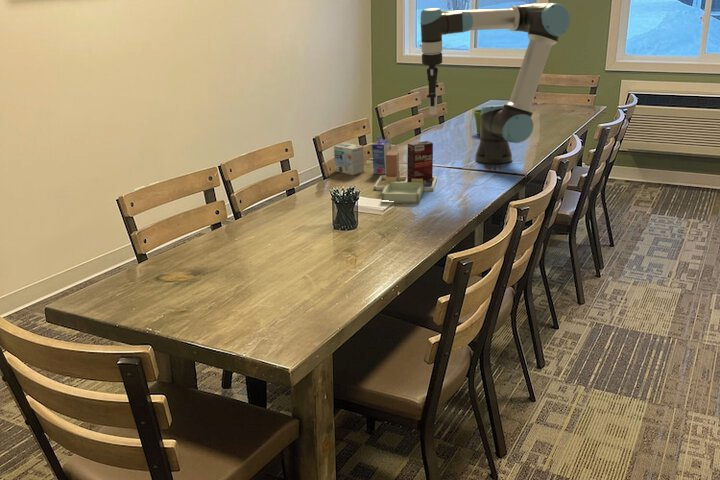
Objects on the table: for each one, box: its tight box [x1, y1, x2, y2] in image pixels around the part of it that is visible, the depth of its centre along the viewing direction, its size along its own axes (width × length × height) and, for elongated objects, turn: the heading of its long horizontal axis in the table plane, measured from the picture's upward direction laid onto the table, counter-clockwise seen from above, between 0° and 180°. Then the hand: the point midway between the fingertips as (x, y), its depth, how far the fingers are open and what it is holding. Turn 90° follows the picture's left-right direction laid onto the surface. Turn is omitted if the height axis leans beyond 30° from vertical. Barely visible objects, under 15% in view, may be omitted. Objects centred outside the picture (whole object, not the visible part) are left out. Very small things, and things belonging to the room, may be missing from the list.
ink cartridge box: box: [371, 134, 392, 175], centre depth 275 cm, size 10×6×14 cm, turn 161°
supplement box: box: [406, 140, 434, 187], centre depth 254 cm, size 9×5×16 cm, turn 118°
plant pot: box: [472, 108, 482, 135], centre depth 338 cm, size 12×12×11 cm
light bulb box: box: [333, 142, 365, 176], centre depth 277 cm, size 11×7×11 cm, turn 47°
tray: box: [380, 181, 424, 204], centre depth 242 cm, size 13×15×3 cm
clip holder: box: [373, 170, 438, 192], centre depth 257 cm, size 22×16×4 cm
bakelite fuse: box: [385, 150, 400, 182], centre depth 256 cm, size 4×6×12 cm, turn 169°
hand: (433, 109), depth 260 cm, fingers open, 13 cm apart
